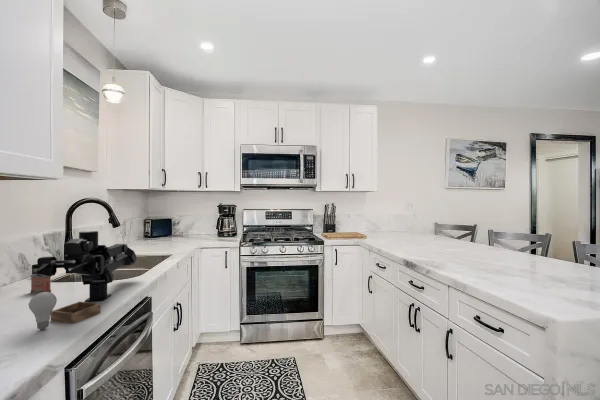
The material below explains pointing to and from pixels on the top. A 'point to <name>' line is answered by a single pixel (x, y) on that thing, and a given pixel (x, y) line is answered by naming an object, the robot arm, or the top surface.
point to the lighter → (39, 283)
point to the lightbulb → (42, 308)
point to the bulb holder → (75, 312)
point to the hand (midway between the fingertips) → (54, 271)
